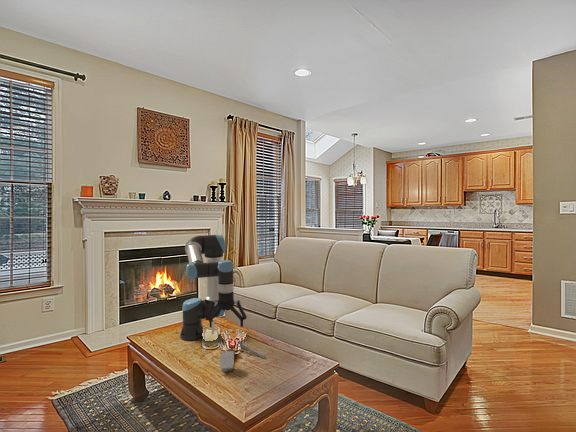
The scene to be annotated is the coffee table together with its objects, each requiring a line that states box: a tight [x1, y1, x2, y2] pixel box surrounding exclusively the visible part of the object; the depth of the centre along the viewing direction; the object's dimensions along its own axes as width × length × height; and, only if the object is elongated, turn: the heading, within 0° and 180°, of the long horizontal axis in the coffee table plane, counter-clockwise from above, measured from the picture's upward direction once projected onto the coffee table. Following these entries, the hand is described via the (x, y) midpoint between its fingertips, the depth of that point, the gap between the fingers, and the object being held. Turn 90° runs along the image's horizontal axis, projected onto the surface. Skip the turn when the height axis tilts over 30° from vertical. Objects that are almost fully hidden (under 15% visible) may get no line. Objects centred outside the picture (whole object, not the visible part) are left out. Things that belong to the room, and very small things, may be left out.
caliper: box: [238, 340, 268, 360], centre depth 191 cm, size 20×1×6 cm, turn 58°
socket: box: [219, 350, 235, 369], centre depth 172 cm, size 6×6×6 cm
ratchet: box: [221, 349, 236, 374], centre depth 181 cm, size 22×6×6 cm, turn 2°
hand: (226, 333), depth 173 cm, fingers open, 13 cm apart
